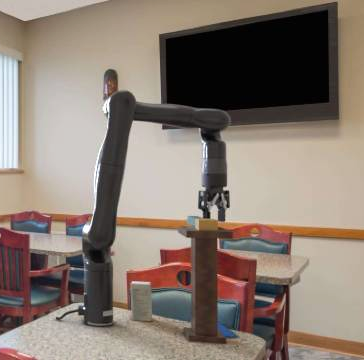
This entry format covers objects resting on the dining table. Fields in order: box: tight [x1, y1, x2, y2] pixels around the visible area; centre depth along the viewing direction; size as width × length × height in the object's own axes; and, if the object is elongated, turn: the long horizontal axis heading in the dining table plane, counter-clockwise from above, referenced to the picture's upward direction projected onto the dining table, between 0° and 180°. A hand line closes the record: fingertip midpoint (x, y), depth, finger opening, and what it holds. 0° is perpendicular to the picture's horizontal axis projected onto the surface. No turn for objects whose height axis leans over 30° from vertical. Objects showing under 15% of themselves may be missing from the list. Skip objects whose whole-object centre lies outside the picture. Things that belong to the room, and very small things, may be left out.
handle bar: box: [186, 215, 219, 231], centre depth 150 cm, size 5×22×3 cm, turn 167°
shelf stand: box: [177, 225, 234, 344], centre depth 144 cm, size 12×14×32 cm
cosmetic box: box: [130, 280, 153, 322], centre depth 163 cm, size 6×4×12 cm
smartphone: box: [218, 321, 238, 339], centre depth 152 cm, size 7×1×15 cm
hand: (214, 222), depth 160 cm, fingers open, 8 cm apart
